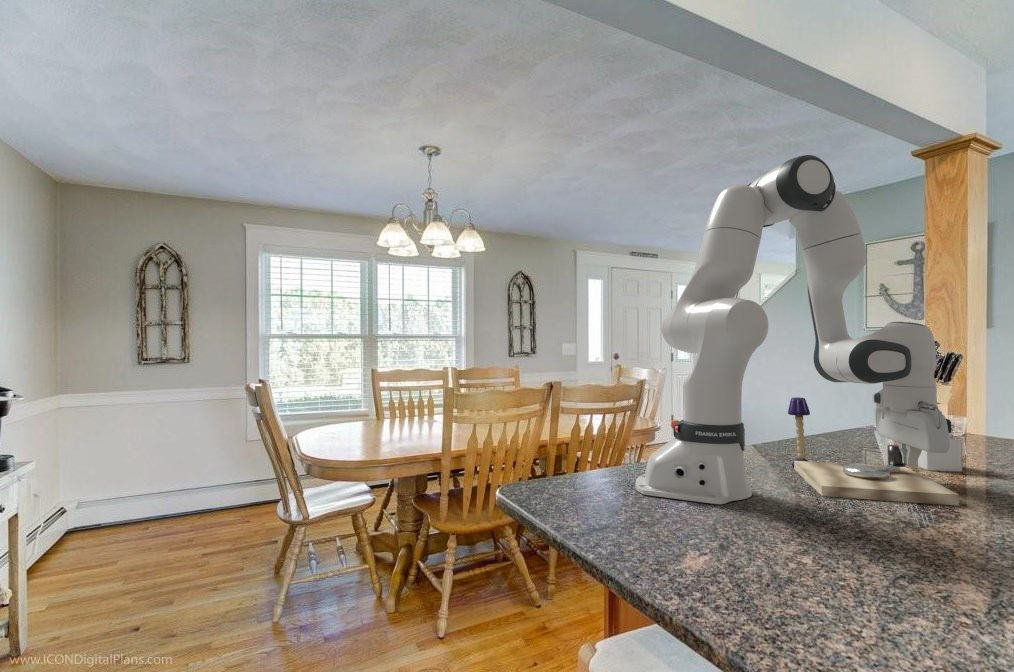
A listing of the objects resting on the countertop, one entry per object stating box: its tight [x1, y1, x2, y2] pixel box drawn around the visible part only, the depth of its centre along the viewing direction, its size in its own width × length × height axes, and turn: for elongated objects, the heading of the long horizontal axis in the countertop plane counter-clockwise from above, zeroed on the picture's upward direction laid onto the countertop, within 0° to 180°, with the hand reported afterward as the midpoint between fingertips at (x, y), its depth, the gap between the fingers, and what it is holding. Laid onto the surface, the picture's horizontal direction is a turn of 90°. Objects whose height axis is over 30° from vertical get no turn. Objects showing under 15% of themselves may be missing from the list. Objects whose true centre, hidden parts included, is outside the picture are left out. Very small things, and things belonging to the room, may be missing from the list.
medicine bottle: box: [917, 418, 963, 473], centre depth 120 cm, size 7×7×12 cm
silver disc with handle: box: [843, 444, 907, 479], centre depth 107 cm, size 14×8×5 cm, turn 107°
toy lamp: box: [787, 397, 811, 468], centre depth 122 cm, size 5×5×17 cm
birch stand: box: [793, 460, 960, 507], centre depth 106 cm, size 22×22×2 cm
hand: (910, 465), depth 105 cm, fingers closed
